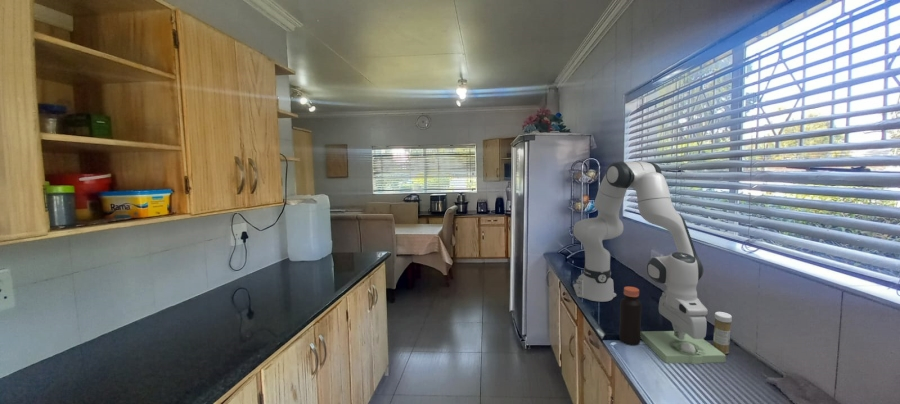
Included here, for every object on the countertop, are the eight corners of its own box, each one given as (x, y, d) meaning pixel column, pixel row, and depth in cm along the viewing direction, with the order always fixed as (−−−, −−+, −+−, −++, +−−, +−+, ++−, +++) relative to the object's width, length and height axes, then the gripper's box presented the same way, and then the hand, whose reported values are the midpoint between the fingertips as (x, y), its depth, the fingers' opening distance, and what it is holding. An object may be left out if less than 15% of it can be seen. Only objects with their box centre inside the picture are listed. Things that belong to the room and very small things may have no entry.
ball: (685, 359, 113) (677, 353, 117) (699, 358, 113) (690, 352, 117) (685, 346, 113) (677, 340, 117) (698, 346, 113) (689, 340, 117)
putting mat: (640, 337, 127) (640, 331, 127) (691, 337, 127) (692, 330, 126) (667, 364, 111) (667, 356, 110) (726, 363, 110) (726, 356, 110)
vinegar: (631, 335, 129) (633, 284, 127) (644, 344, 123) (646, 291, 120) (615, 337, 128) (616, 286, 126) (627, 346, 121) (629, 293, 119)
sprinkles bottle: (716, 346, 120) (719, 310, 119) (731, 352, 116) (734, 315, 115) (709, 349, 118) (712, 313, 117) (724, 356, 114) (727, 318, 113)
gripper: (654, 289, 128) (653, 323, 130) (691, 313, 108) (689, 353, 110) (671, 288, 128) (669, 323, 130) (711, 312, 108) (709, 353, 109)
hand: (679, 337), depth 119 cm, fingers closed
